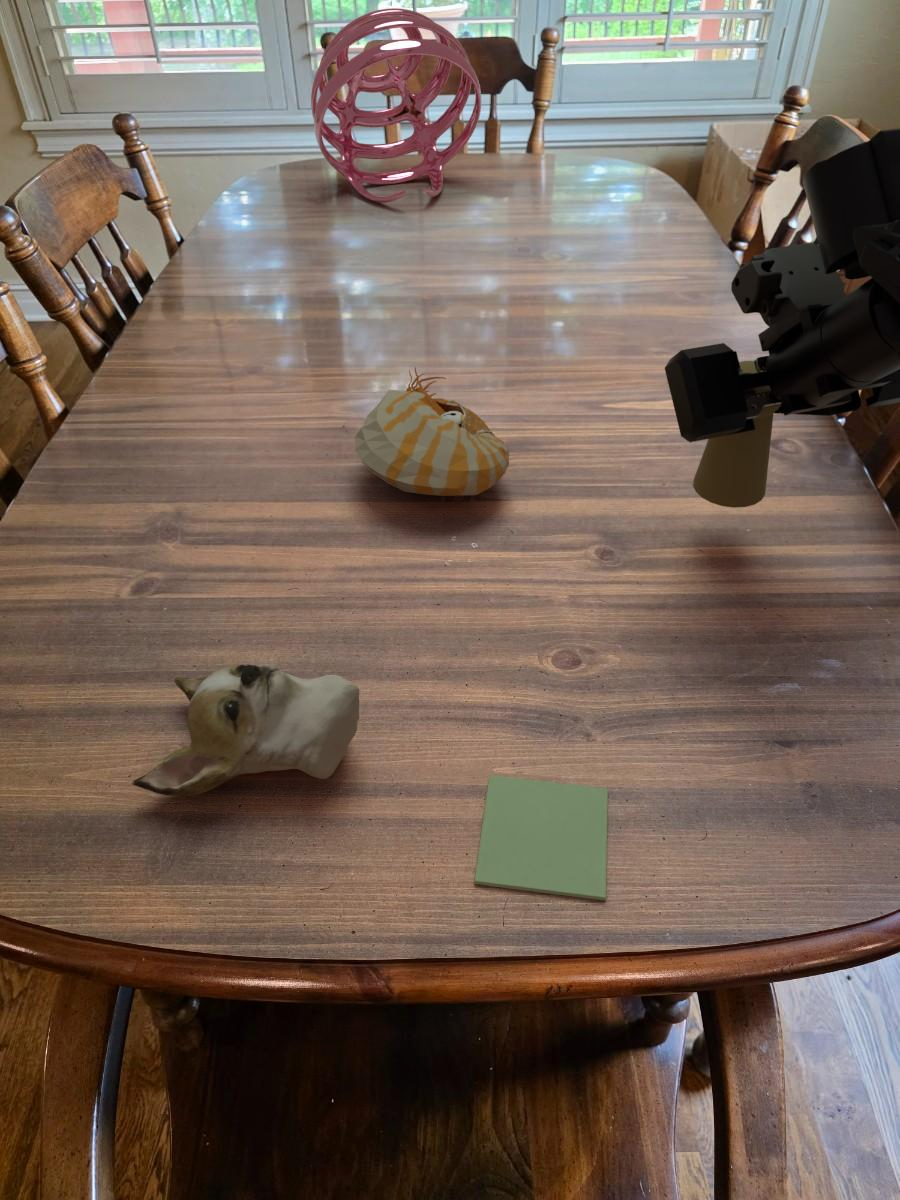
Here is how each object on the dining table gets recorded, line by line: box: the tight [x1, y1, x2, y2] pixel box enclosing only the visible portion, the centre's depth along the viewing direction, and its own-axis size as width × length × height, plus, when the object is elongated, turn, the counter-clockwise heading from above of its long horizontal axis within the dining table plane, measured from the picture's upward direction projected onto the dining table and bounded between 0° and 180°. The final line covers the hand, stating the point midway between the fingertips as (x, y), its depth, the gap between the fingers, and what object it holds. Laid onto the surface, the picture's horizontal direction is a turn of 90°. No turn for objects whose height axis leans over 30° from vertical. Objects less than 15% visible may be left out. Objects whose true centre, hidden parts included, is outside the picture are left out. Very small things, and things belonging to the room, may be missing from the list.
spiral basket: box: [310, 7, 482, 204], centre depth 143 cm, size 28×28×27 cm
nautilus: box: [354, 366, 510, 497], centre depth 86 cm, size 8×22×15 cm
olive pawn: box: [692, 360, 781, 509], centre depth 71 cm, size 6×6×11 cm
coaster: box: [474, 774, 609, 902], centre depth 56 cm, size 8×8×1 cm
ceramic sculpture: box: [131, 663, 360, 797], centre depth 58 cm, size 11×9×15 cm
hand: (735, 411), depth 71 cm, fingers closed on olive pawn, 5 cm apart
